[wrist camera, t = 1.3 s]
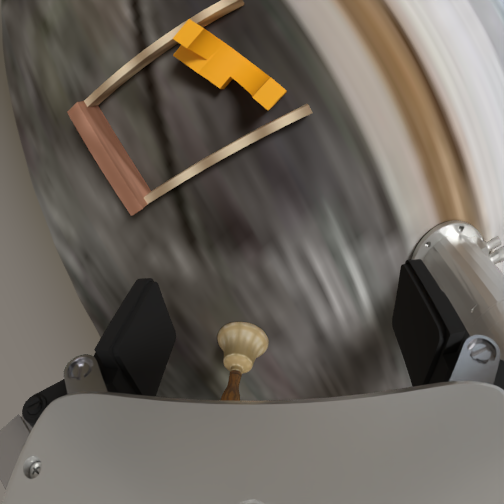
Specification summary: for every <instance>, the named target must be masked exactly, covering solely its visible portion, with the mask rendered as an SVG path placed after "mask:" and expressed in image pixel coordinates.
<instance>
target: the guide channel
mask: <svg viewBox="0 0 504 504" xmlns="http://www.w3.org/2000/svg"><path fill="white" fill-rule="evenodd" d="M243 5H245V4H244V2H243V1H242V0H221V1H219V2H217V3H216V4H214V5H212V6H210V7H209V8H207V9H205V10H203V11H202V12H200V13H198V14H197V15H195V16H193V17H192V18H190V20H192V21H194V22H195V23H197V24H198V25H200V26H201V27H205V26H207V25H208V24H210V23H212V22H213V21H215V20H217V19H219V18H220V17H222V16H224V15H226V14H228V13H230V12H232V11H233V10H235V9H237V8H239V7H241V6H243ZM188 20H189V19H188ZM188 20H187V21H188ZM187 21H185V22H184V23H182V24H181V25H179V26H178V27H176V28H175V29H173V30H172V31H170V32H169V33H167V34H166V35H164V36H163V37H161V38H160V39H158V40H157V41H156V42H154V43H153V44H151V45H150V46H149V47H147V48H146V49H145V50H143V51H142V52H141V53H139V54H138V55H137V56H136V57H134V58H133V59H132V60H130V61H129V62H128V63H127V64H125V65H124V66H123V67H122V68H121V69H119V70H118V71H117V72H116V73H115V74H113V75H112V76H111V77H110V78H109V79H108V80H107V81H105V82H104V83H103V84H102V85H101V86H100V87H99V88H98V89H96V90H95V91H94V92H93V93H92V94H91V95H90V96H89V97H88V98H87V99H86V100H85V101H82V102H77V103H76V104H75V105H74V106H73V107H72V108H71V109H70V110H69V111H68V112H67V113H68V115H69V116H70V118H71V120H72V122H73V123H74V125H75V127H76V129H77V130H78V132H79V134H80V135H81V137H82V139H83V141H84V142H85V144H86V146H87V147H88V149H89V151H90V152H91V154H92V155H93V157H94V159H95V160H96V162H97V164H98V165H99V167H100V168H101V170H102V172H103V173H104V175H105V176H106V178H107V180H108V181H109V183H110V184H111V186H112V187H113V189H114V190H115V192H116V194H117V195H118V197H119V198H120V200H121V201H122V203H123V204H124V206H125V207H126V209H127V210H128V212H129V213H130V215H131V216H132V215H134V214H135V213H137V212H138V211H140V210H141V209H143V208H144V207H145V206H146V205H147V204H149V203H150V202H152V201H154V200H155V199H157V198H158V197H160V196H161V195H163V194H165V193H166V192H168V191H169V190H171V189H173V188H174V187H176V186H178V185H179V184H181V183H183V182H184V181H186V180H188V179H189V178H191V177H193V176H194V175H196V174H198V173H199V172H201V171H203V170H204V169H206V168H208V167H210V166H211V165H213V164H215V163H217V162H218V161H220V160H222V159H224V158H226V157H227V156H229V155H231V154H233V153H235V152H236V151H238V150H240V149H242V148H244V147H246V146H248V145H249V144H251V143H253V142H255V141H257V140H259V139H261V138H263V137H265V136H267V135H269V134H271V133H272V132H274V131H276V130H278V129H280V128H282V127H284V126H286V125H288V124H291V123H293V122H295V121H297V120H299V119H301V118H303V117H305V116H307V115H309V114H311V113H312V111H311V109H310V107H309V105H308V104H306V105H304V106H302V107H300V108H297V109H295V110H293V111H291V112H289V113H287V114H285V115H283V116H281V117H279V118H277V119H275V120H273V121H271V122H269V123H267V124H265V125H263V126H261V127H260V128H258V129H256V130H254V131H252V132H250V133H248V134H246V135H245V136H243V137H241V138H239V139H237V140H235V141H234V142H232V143H230V144H228V145H226V146H225V147H223V148H221V149H219V150H218V151H216V152H214V153H212V154H211V155H209V156H207V157H206V158H204V159H202V160H201V161H199V162H197V163H195V164H194V165H192V166H191V167H189V168H187V169H186V170H184V171H182V172H181V173H179V174H177V175H176V176H174V177H173V178H171V179H170V180H168V181H166V182H165V183H163V184H162V185H160V186H159V187H157V188H156V189H154V190H152V191H151V190H150V188H149V187H148V185H147V184H146V182H145V181H144V179H143V177H142V176H141V174H140V173H139V171H138V170H137V168H136V167H135V165H134V163H133V162H132V160H131V159H130V157H129V155H128V154H127V152H126V151H125V149H124V147H123V146H122V144H121V143H120V141H119V139H118V138H117V136H116V134H115V133H114V131H113V129H112V128H111V126H110V124H109V123H108V121H107V119H106V118H105V116H104V114H103V113H102V111H101V109H100V108H99V106H98V105H99V104H100V103H101V102H102V101H104V100H105V99H106V98H107V97H108V96H109V95H110V94H112V93H113V92H114V91H115V90H116V89H117V88H119V87H120V86H121V85H122V84H124V83H125V82H126V81H127V80H128V79H130V78H131V77H132V76H133V75H135V74H136V73H137V72H139V71H140V70H141V69H143V68H144V67H145V66H147V65H148V64H149V63H151V62H152V61H153V60H155V59H156V58H157V57H159V56H160V55H162V54H163V53H165V52H166V51H167V50H169V49H170V48H172V47H173V46H175V45H176V44H178V42H177V41H175V40H174V39H173V37H174V36H175V35H176V34H177V32H178V31H179V30H180V29H181V28H182V27H183V25H184V24H185V23H186V22H187Z"/></svg>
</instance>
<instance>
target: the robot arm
mask: <svg viewBox="0 0 504 504" xmlns="http://www.w3.org/2000/svg"><path fill="white" fill-rule="evenodd" d="M500 245H501V240H500V238H499V237H498V236H497V237H495V238H493V239H491V240H490V241H488V242H486V241H483V238H482V236H481V234H480V233H479V232H478V231H477V229H476V228H474V227H473V226H472V225H471V224H469V223H467V222H464V221H459V220H454V221H448V222H444V223H442V224H440V225H438V226H436V227H434V228H433V229H432V230H430V231H429V232H428V233H427V234H426V235H425V236H424V237H423V238H422V240H421V241H420V242H419V243H418V245H417V247H416V249H415V251H414V253H413V256H412V259H411V260H407V261H406V262H405V264H403V265H402V266H401V270H400V277H399V284H398V290H397V296H396V302H395V308H394V313H393V319H392V325H393V329H394V332H395V335H396V337H397V340H398V343H399V346H400V349H401V352H402V355H403V358H404V361H405V364H406V367H407V370H408V373H409V376H410V379H411V382H412V386H413V387H408V388H402V389H395V390H388V391H381V392H374V393H366V394H358V395H349V396H339V397H328V398H314V399H298V400H273V401H223V400H196V399H180V398H167V397H155V396H156V393H157V390H158V387H159V384H160V382H161V379H162V376H163V373H164V370H165V367H166V365H167V362H168V359H169V356H170V353H171V351H172V348H173V345H174V342H175V339H176V333H175V330H174V327H173V324H172V322H171V319H170V316H169V314H168V311H167V308H166V305H165V303H164V300H163V297H162V294H161V291H160V288H159V285H158V283H157V282H154V281H153V279H151V278H147V279H138V280H137V281H136V282H135V284H134V285H133V287H132V288H131V290H130V291H129V293H128V295H127V296H126V298H125V299H124V301H123V303H122V304H121V306H120V307H119V309H118V311H117V312H116V314H115V316H114V317H113V319H112V321H111V322H110V324H109V326H108V327H107V329H106V331H105V332H104V334H103V336H102V337H101V339H100V341H99V343H98V344H97V346H96V348H95V351H96V353H95V355H94V356H92V355H88V354H84V355H80V356H77V357H75V358H73V359H72V360H71V361H70V362H69V363H68V364H67V365H66V367H65V369H64V379H63V380H62V381H60V382H58V383H56V384H54V385H52V386H50V387H48V388H46V389H45V390H43V391H41V392H39V393H37V394H35V395H33V396H32V397H30V398H29V399H28V400H27V401H26V403H25V404H24V406H23V410H22V414H23V416H22V417H21V416H20V415H17V416H16V417H15V418H14V419H13V420H12V421H10V422H9V423H8V424H7V425H6V426H5V427H4V428H2V429H1V430H0V480H1V482H2V484H3V486H4V488H5V489H6V491H5V494H4V497H3V501H2V504H504V274H503V273H502V272H501V271H500V270H499V268H498V267H497V266H496V265H495V264H497V263H498V262H499V263H500V262H502V261H504V246H502V247H501V248H499V249H497V250H495V251H494V252H493V253H491V254H489V253H490V250H492V249H495V248H496V247H498V246H500Z"/></svg>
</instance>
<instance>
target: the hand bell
mask: <svg viewBox="0 0 504 504" xmlns="http://www.w3.org/2000/svg"><path fill="white" fill-rule="evenodd" d="M217 339H218V343H219V346H220V347H221V349H222V350H223V351H224V360H223V362H224V366H225V367H226V368H227V369H228V370H229V371H230V376H229V382H228V386H227V388H226V389H225V391H224V393H223V395H222V397H221V400H223V401H240V394H239V383H240V379H241V375H242V373H246V372H248V371H250V370H251V368H252V366H253V363H254V361H255V359H256V358H257V357H259V356H261V355H262V354H263V353H264V352H265V351H266V350H267V347H268V338H267V335H266V334H265V333H264V331H263V330H261V329H260V328H259V327H257V326H255V325H253V324H251V323H247V322H232V323H229V324H226V325H225V326H223V327H222V328H221V329H220V330H219V332H218V336H217Z"/></svg>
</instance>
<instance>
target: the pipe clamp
mask: <svg viewBox="0 0 504 504" xmlns="http://www.w3.org/2000/svg"><path fill="white" fill-rule="evenodd" d="M173 39H174V40H175V41H177V42H178V43H180V44H181V46H180V47H179V48H178V50H177V51H176V52H175V53H174V55H173V56H174V57H176V58H177V59H179V60H180V61H181V62H183V63H184V64H186V65H187V66H188V67H190V68H191V69H193V70H194V71H195V72H197V73H198V74H200V75H201V76H203V77H204V78H206V79H207V80H209V81H210V82H212V83H213V84H214V85H216V86H217V87H218V88H219V89H224V88H225V87H226V86H227V85H228V84H229V83H230V82H231V80H232V79H234V80H235V81H237V82H238V83H239V84H240V85H241V86H242V87H244V88H245V89H246V90H247V91H248V92H249V93H250V94H251V95H252V98H254V99H255V100H256V101H257V102H258V103H260V104H261V105H262V106H263V107H264V108H266V109H267V110H269V109H271V108H272V107H273V106H274V105H275V104H276V103H277V102H278V101H279V100H280V99H281V97H282V96H283V95H284V94H285V93H286V92H287V91H286V90H285V89H284V88H283V87H282V86H280V85H279V84H278V83H277V82H276V81H274V80H273V79H272V78H271V77H269V76H268V75H267V74H265V73H264V72H263V71H261V70H260V69H259V68H258V67H256V66H255V65H254V64H252V63H251V62H250V61H248V60H247V59H246V58H244V57H243V56H242V55H240V54H239V53H238V52H236V51H235V50H234V49H232V48H231V47H230V46H228V45H227V44H225V43H224V42H223V41H221V40H220V39H218V38H217V37H216V36H214V35H213V34H211V33H210V32H209V31H207V30H206V29H204V28H203V27H201V26H200V25H198V24H197V23H195V22H194V21H192V20H190V19H189V20H188V21H187V22H186V23H185V24H184V25H183V27H182V28H181V29H180V30H179V31H178V32H177V34H176V35H175V36H174V37H173Z"/></svg>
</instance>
